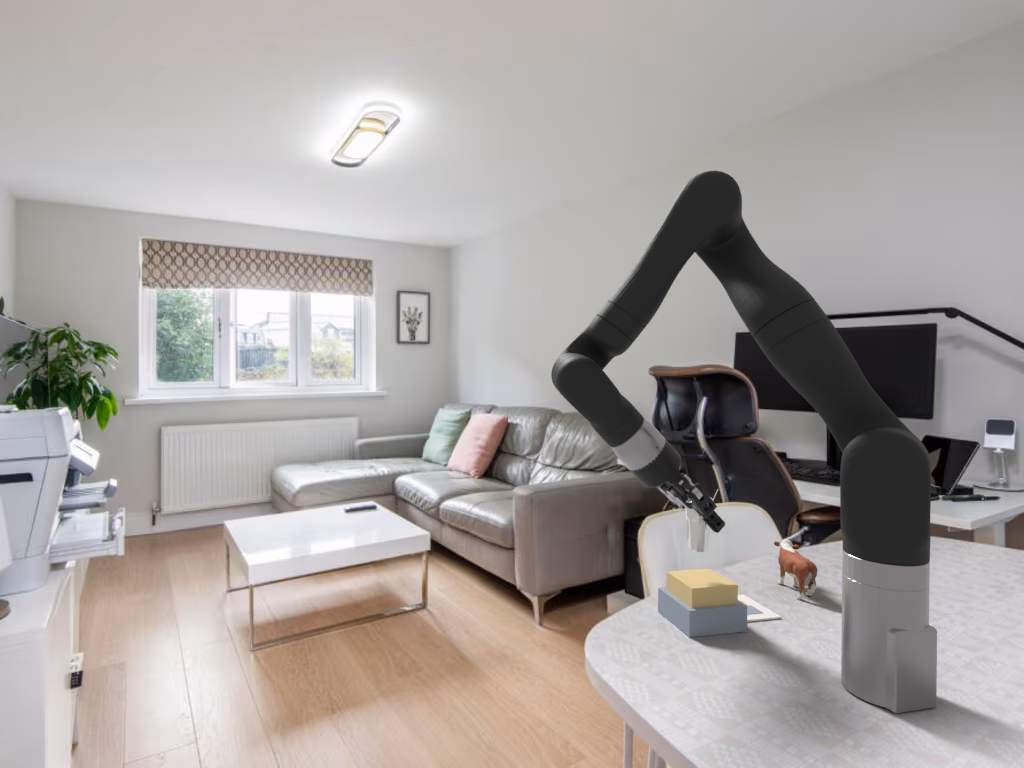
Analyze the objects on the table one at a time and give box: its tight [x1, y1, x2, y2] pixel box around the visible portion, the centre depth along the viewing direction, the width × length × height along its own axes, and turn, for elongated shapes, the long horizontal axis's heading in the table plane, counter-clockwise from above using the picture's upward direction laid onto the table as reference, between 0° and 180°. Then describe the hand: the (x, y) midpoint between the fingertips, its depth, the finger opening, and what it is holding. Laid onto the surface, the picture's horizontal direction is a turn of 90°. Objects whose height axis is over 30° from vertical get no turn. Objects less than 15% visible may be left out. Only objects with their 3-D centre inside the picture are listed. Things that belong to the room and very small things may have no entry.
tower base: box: [657, 568, 748, 638], centre depth 93 cm, size 10×10×7 cm
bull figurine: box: [773, 538, 818, 601], centre depth 108 cm, size 4×13×8 cm, turn 174°
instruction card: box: [738, 594, 782, 623], centre depth 98 cm, size 10×7×1 cm
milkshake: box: [684, 488, 719, 553], centre depth 93 cm, size 5×5×10 cm
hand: (711, 524), depth 94 cm, fingers closed on milkshake, 4 cm apart
